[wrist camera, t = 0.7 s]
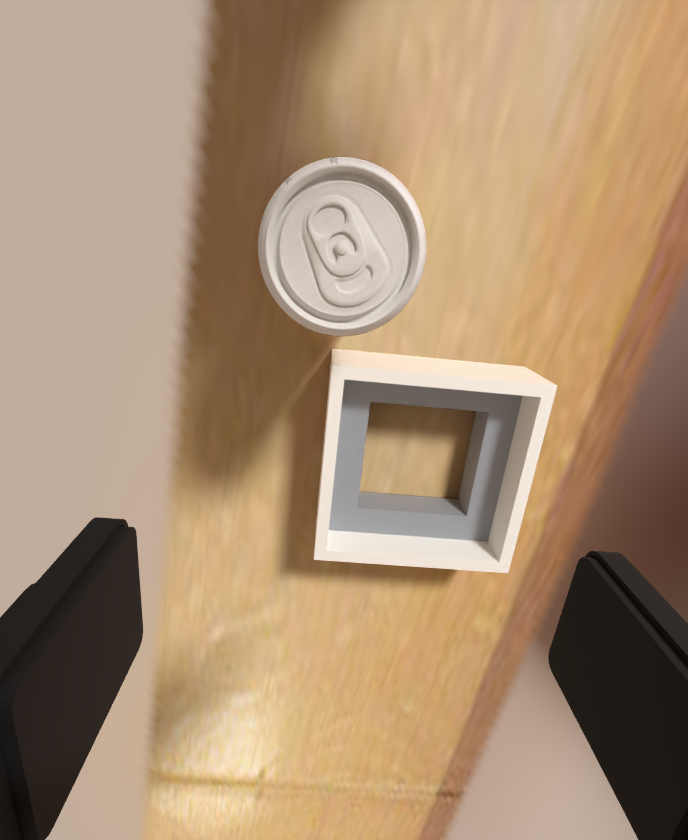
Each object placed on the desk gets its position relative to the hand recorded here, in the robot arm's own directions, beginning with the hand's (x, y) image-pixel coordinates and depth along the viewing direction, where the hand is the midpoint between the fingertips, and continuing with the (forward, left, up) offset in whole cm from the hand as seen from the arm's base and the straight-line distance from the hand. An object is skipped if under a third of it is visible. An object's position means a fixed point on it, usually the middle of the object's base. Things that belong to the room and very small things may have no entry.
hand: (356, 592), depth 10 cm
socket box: (+6, +6, -24) cm, 25 cm away
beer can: (-7, -1, -24) cm, 25 cm away
